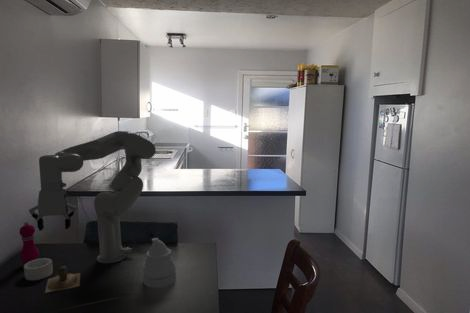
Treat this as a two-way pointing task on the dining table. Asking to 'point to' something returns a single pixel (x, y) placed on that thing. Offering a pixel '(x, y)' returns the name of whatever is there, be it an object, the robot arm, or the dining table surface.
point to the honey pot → (159, 266)
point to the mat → (49, 289)
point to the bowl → (38, 269)
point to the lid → (63, 279)
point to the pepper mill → (28, 243)
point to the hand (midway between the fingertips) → (54, 228)
